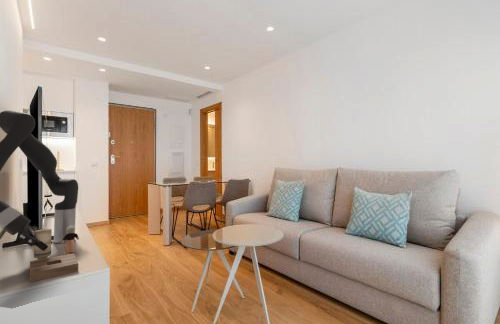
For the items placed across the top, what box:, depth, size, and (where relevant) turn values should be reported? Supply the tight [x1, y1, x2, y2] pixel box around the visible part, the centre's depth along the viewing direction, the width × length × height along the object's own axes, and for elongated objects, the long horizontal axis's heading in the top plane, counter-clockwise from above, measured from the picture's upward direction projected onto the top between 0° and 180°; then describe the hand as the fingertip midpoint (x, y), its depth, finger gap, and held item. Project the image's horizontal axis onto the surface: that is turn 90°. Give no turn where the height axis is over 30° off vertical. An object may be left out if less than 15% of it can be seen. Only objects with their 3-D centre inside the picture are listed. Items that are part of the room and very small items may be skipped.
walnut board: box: [29, 253, 79, 283], centre depth 96 cm, size 14×14×3 cm
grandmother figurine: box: [60, 226, 80, 255], centre depth 115 cm, size 8×4×13 cm, turn 168°
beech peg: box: [33, 228, 53, 260], centre depth 104 cm, size 6×6×13 cm
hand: (48, 246), depth 105 cm, fingers closed on beech peg, 5 cm apart
